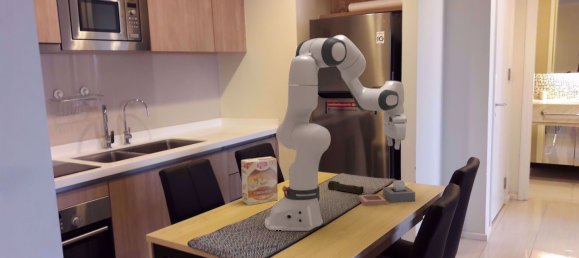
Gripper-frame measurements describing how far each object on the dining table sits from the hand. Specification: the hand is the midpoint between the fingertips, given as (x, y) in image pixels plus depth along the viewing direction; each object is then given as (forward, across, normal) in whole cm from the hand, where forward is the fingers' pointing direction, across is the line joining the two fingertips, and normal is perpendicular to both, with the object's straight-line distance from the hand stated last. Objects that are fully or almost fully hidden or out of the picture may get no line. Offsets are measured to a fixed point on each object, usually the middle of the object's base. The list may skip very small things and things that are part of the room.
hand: (393, 147), depth 198 cm
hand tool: (+24, -12, -20) cm, 33 cm away
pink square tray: (+23, +6, -12) cm, 26 cm away
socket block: (+23, +3, +2) cm, 23 cm away
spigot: (+23, +3, +2) cm, 23 cm away
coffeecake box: (+24, -4, -61) cm, 65 cm away
